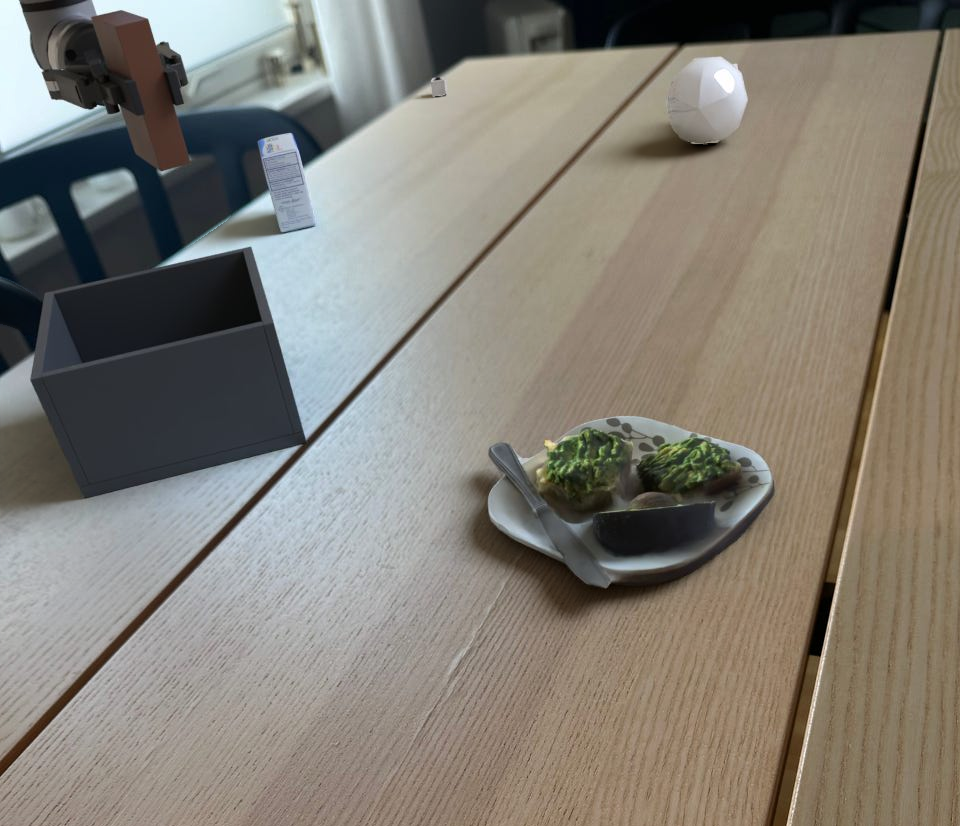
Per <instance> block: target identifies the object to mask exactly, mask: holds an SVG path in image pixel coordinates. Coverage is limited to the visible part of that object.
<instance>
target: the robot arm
mask: <svg viewBox="0 0 960 826" xmlns="http://www.w3.org/2000/svg"><path fill="white" fill-rule="evenodd" d="M18 2H19V5H20V7H21V12H22V14H23V17H24V21H25V23H26V26H27V28H28V31H29V45H30V46H29V47H30V50H31V54H32V56H33V58H34V60H35V62H36V64H37V65H38V68H40V69H41V70H42V71H41V74H42V77H43V80H44V83H45V87H46V88H47V91H48V94H49V96H50V99H51V100H55V101H64V102H67V103H69V104H71V105H74V106H76V107H79V108H81V109H84V110H88V111H91V110H94V109H95V108H97V107H98V106H100V107H105V110H106V113H107V115H115V114H118V113H120V112H121V108H120V106H121V107H123V108H125V109H126V110H128V111H130V112H131V113H133V114H135V115H137V116H140V115H143V114H145V111H144V108H143V105H142V101H141V98H140V95H139V92H138V89H137V85H136V82H135V80H133V79H130V78H128V77H126V76H124V75H122V74H120V73H118V72H112V73H109V71H108V68H107V65H106V62H105V59H104V56H103V53H102V50H101V47H100V44H99V41H98V38H97V35H96V32H95V28H94V25H93V22H92V19H91V17H93V16H97V14H98V13H97V12H96V11H97V10H96V7H95V4H94V2H93V0H18ZM156 47H157V50H158V54H159V57H160V60H161V64H162V67H163V71H164V74H165V78H166V81H167V85H168V88H169V91H170V95H171V98H172V102H173V105H174V106H176V107H177V106H181V105H185V100H184V98H183V94H182V91H181V89H182V87H185V86H187V85H188V84H189V80H188V76H187V73H186V68H185V65H184V62H183V58H182V55H181V54H180V53H178V52H177V51H176V50H173V49H172V48H171V47H170V43H169V42H168V41H164V40H163V41H160V42H159V43H157V44H156Z"/></svg>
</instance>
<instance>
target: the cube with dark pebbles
mask: <svg viewBox="0 0 960 826" xmlns="http://www.w3.org/2000/svg"><path fill="white" fill-rule="evenodd" d="M430 87H431V93H432V97H433V96H438V95H443V94H446V92H447V93H448V85H447V79H446V76H442V77H441V76H437V77H433V78H431V80H430Z"/></svg>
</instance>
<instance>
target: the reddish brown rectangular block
mask: <svg viewBox="0 0 960 826" xmlns="http://www.w3.org/2000/svg"><path fill="white" fill-rule="evenodd" d="M91 19H92V22H93V25H94V28H95V32H96V35H97V38H98V41H99V44H100V47H101V50H102V53H103V56H104V59H105V62H106V65H107V68H108V71H109V73H112V72H118V73H120V74H122V75H124V76H126V77H128V78H130V79H133V80H135V82H136V85H137V89H138V92H139V95H140V98H141V101H142V105H143V108H144V111H145V114H143V115H140V116H137V115H135V114H133V113H131V112H130V111H128V110H126V109H125V108H123V107H121V106H120V105H119V109H120V112H121V114H122V117H123V120H124V124H125V126H126V129H127V132H128V136H129V139H130V142H131V144H132V148H133V150H134V154H135V155H136V156H138V157H139V158H141V159H142V160H144V161H145V162H146V163H148V164H150V165H151V166H152V167H154V168H155V169H156V170H158V171H159V172H165V171H168V170H172V169H175V168H178V167H182V166H186V165H189V164H191V159H190V156H189V153H188V149H187V146H186V141H185V139H184V135H183V132H182V129H181V125H180V122H179V118H178V115H177V111H176V108H175V105H174V104H173V102H172V98H171V95H170V91H169V88H168V85H167V81H166V78H165V74H164V71H163V67H162V64H161V60H160V57H159V54H158V50H157V47H156V45H157V44H156V40H155V37H154V34H153V30H152V28H151V24H150V21H149V18H147V17H144V16H141V15H137V14H136V13H132V12H129V11H126V10H123V9H120V10H119V9H118V10H115V11H111V12H106V13H102V14H98V15H97V16H93V17H91Z"/></svg>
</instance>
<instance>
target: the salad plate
mask: <svg viewBox="0 0 960 826" xmlns="http://www.w3.org/2000/svg"><path fill="white" fill-rule="evenodd" d="M542 444H543V446H544V447H545V448H544V449H542V450H541V451H540V452H538V453H536V454H535V455H533V456H532V457H525V458H524V457H521V456H520V455H519V454H517V452H516V451H515V449H514V448H513V447H512V446H511V443H508V442H498V443H495V444H493V445H491V446H490V447H488V453H487V455H488V457H489V459H490V460H491V462H492V463H493V465H494V466H495V468H496V469H497V471H498V473H499V477H500V478H499V480H497V482H496V483H495V484H494V485H493V487H492V488H491V490H490V491H489V494H488V498H487V508H488V517H489V520H490V522H491V523H492V524H493V525H494V526H495V527H496V528H497V529H498V530H499V531H501V532H502V533H503V534H505V535H506V536H508V537H509V538H511V539H512V540H514V541H516V542H518V543H520V544H522V545H524V546H526V547H529V548H530V549H533V550H535V551H537V552H539V553H542V554H544V555H546V556H547V557H550V558H552V559H553V560H556V561H559V562H560V563H563V564H565V565H566V567H567V568H568V569H569V571H570V572H572V573H573V574H574V575H575V576H576V577H577V578H578V579H580V580H581V581H582V582H583V583H584V584H586V585H589V586H593V587H598V588H601V589H607V588H608V587H609V585H610V584H613V585H617V586H626V587H627V586H629V587H639V586H642V587H643V586H650V585H657V584H663V583H668V582H671V581H675V580H677V579H680V578H683V577H686V576H687V575H690V574H692V573H693V572H695V571H697V570H698V569H700V568H701V567H703V566H704V565H705V564H706V563H708V562H709V561H711V560H712V559H714V558H715V557H716V556H718V555H719V554H721V553H722V552H723V551H725V550H726V549H727V548H728V547H730V546H731V545H732V544H734V543H735V542H736V541H738V540H739V539H740V538H741V537H742V535H744V533H746V532H747V530H748V529H749V528H750V527H751V525H753V523H754V522H755V521H756V520H757V518H758V517H759V516H760V515H761V514H762V512H763V511H764V509H765V508H766V507H767V506H768V505H769V503H770V501H771V500H772V499H773V497H774V495H775V491H776V490H775V489H776V488H775V480H774V478H773V472H772V471H771V469H770V467H769V465H768V464H767V462H766V461H765V460H764V458H763V456H761V455H759V454H758V453H757V452H756V451H755V450H752V449H750V448H748V447H745V446H742V445H740V444H736V443H734V442H730V441H729V442H728V441H725V440H723V439H718V438H714V437H711V436H707V435H702V434H700V433H697V432H694V431H689V430H686V429H683V428H681V427H678V426H677V425H673V424H668V423H666V422H662V421H660V420H654V419H652V418H648V417H644V416H643V417H642V416H633V415H619V416H612V417H606V418H605V417H604V418H600V419H595V420H590V421H588V422H583V423H581V424H579V425H577V426H575V427H573V428H572V429H570V430H569V431H567V432H565V433H564V434H563V435H561V436H560V437H559V438H558V439H556V440H555V441H553V442H552V440H551V439H550V438H546V439H545V440H544V441H543V442H542Z"/></svg>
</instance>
